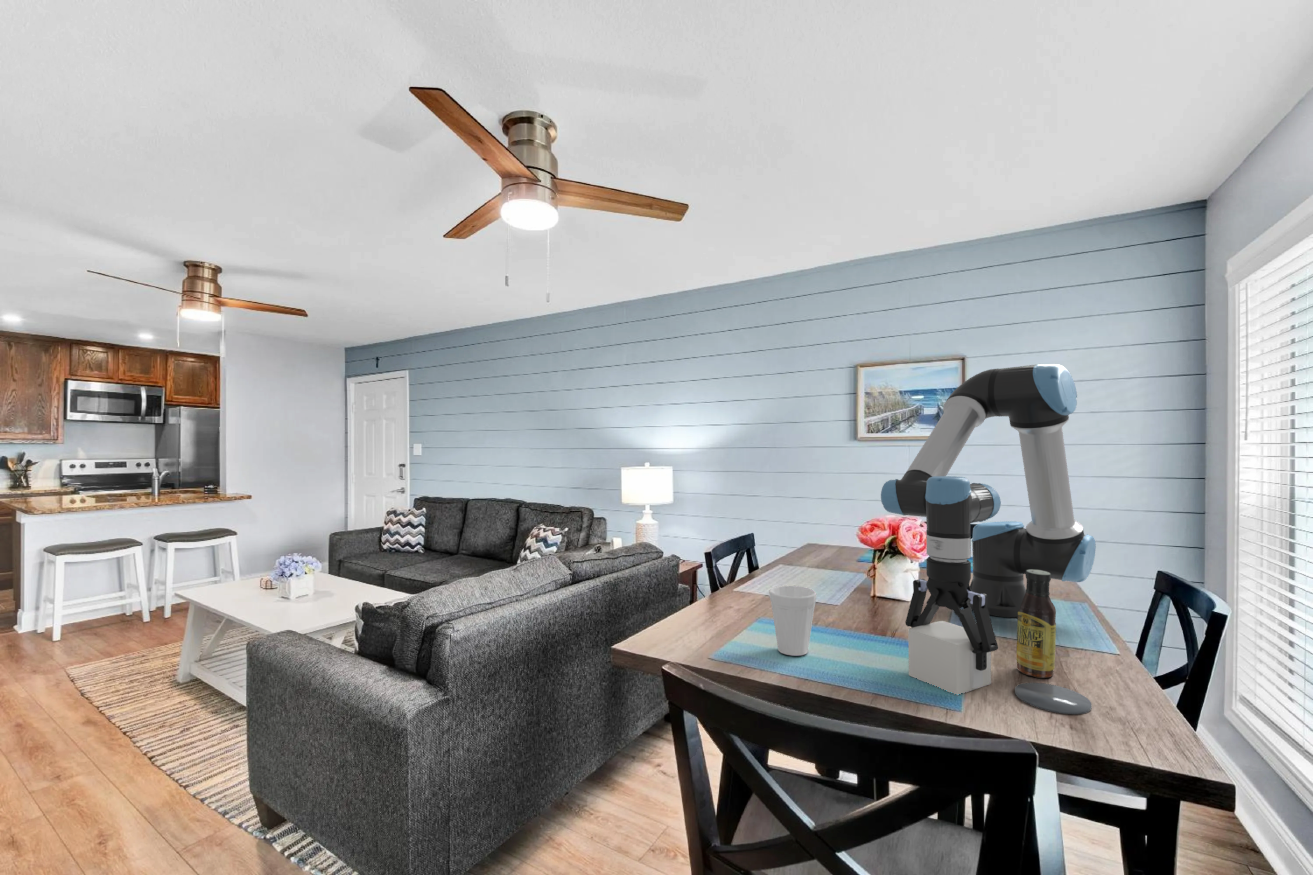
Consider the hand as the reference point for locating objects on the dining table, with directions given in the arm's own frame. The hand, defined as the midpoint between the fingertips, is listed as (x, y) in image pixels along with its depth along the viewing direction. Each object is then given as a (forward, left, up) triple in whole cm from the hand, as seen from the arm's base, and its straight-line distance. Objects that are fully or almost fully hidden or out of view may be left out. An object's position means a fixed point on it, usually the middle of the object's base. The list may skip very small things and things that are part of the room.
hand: (949, 675), depth 109 cm
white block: (0, 0, -1) cm, 1 cm away
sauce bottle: (-17, +6, -1) cm, 18 cm away
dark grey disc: (-8, +14, -1) cm, 16 cm away
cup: (+16, -25, -1) cm, 30 cm away
